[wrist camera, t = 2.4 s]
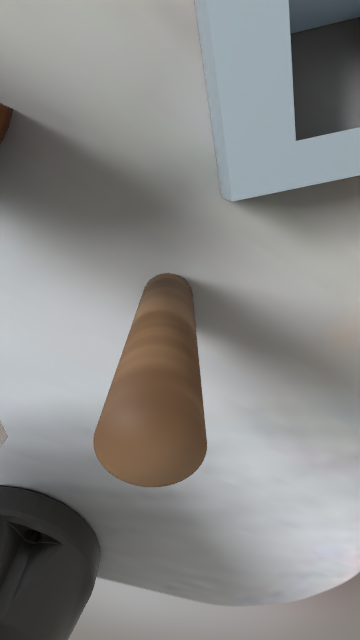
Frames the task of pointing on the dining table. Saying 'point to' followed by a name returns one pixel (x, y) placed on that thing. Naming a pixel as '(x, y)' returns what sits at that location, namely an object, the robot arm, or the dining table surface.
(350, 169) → the hole block
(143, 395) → the peg
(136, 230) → the dining table surface
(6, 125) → the food container
